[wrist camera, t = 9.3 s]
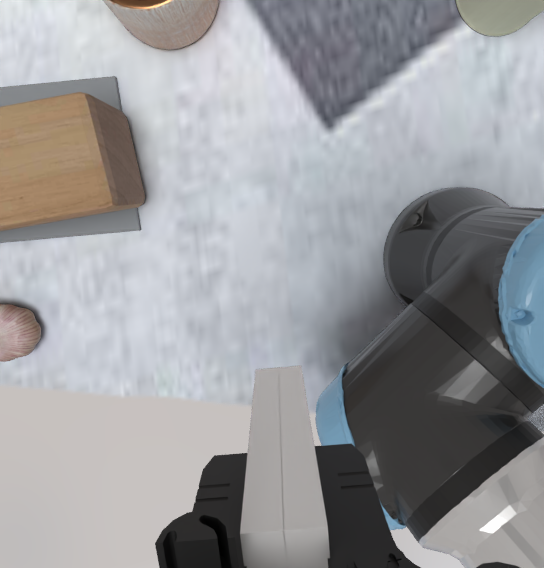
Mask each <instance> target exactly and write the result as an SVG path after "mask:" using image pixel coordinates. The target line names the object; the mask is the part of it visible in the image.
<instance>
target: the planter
mask: <svg viewBox="0 0 544 568" xmlns="http://www.w3.org/2000/svg"><path fill="white" fill-rule="evenodd" d="M103 1H104V2H105V4H106V5H107V6H108V7H109V8H110V10H111V11H112V12H113V13H114V14H115V16H116V17H117V18H118V19H119V20H120V22H121V23H122V24H123V25H124V26H125V27H126V29H127V30H128V31H129V32H130V33H131V34H132V35H134V36H135V37H136V38H138V39H139V40H141V41H142V42H144V43H146V44H148V45H150V46H152V47H155V48H160V49H178V48H182V47H185V46H188V45H190V44H192V43H193V42H195V41H196V40H198V39H199V38H200V37H201V36H202V35H203V34H204V33H205V32H206V31H207V30H208V28H209V27H210V25H211V24H212V22H213V20H214V17H215V15H216V12H217V9H218V4H219V0H103Z"/></svg>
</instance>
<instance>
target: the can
mask: <svg viewBox="0 0 544 568" xmlns="http://www.w3.org/2000/svg"><path fill="white" fill-rule="evenodd" d="M456 5H457V8H458V11H459V13H460V15H461V17H462V18H463V20H464V21H465V22H466V24H467V25H468V26H469V27H471V28H472V29H473V30H475V31H476V32H478V33H481V34H483V35H487V36H503V35H507V34H510V33H513V32H515V31H517V30H519V29H520V28H522V27H523V26H524V25H526V24H527V23H528V22H529V21H530V20H531V19H532V18H534V17H535V16H537V15H538V14H539V13H541V12H542V11H544V0H456Z"/></svg>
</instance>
